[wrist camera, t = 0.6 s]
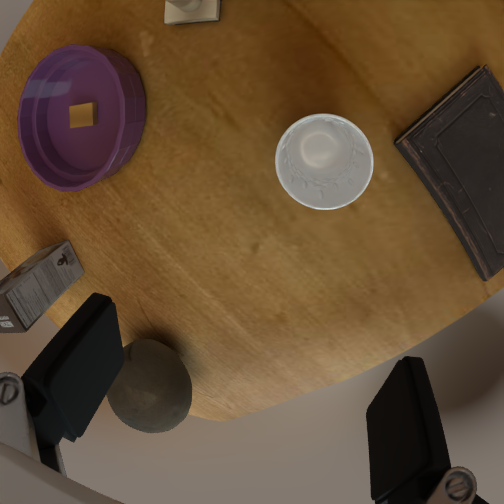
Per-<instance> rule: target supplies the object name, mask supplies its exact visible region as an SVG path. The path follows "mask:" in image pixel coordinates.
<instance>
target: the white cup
mask: <svg viewBox="0 0 504 504" xmlns="http://www.w3.org/2000/svg"><path fill="white" fill-rule="evenodd" d="M275 166H276V172H277V175H278V178H279V181H280V183H281V184H282V186H283V188H284V189H285V190H286V192H287V193H288V194H289V195H290V196H291V197H292V198H293V199H295V200H296V201H298V202H299V203H301V204H303V205H305V206H307V207H310V208H314V209H320V210H331V209H337V208H340V207H343V206H346V205H348V204H350V203H351V202H353V201H354V200H356V199H357V198H358V197H359V196H360V195H361V194H362V193H363V192H364V190H365V189H366V187H367V186H368V184H369V182H370V179H371V176H372V172H373V153H372V149H371V146H370V144H369V142H368V140H367V138H366V136H365V135H364V134H363V132H362V131H361V130H360V129H359V128H358V127H357V126H356V125H355V124H353V123H352V122H350V121H349V120H347V119H345V118H343V117H340V116H337V115H333V114H314V115H309V116H306V117H304V118H302V119H300V120H298V121H296V122H295V123H294V124H292V125H291V126H290V127H289V128H288V129H287V130H286V131H285V133H284V134H283V135H282V137H281V139H280V141H279V143H278V146H277V149H276V155H275Z"/></svg>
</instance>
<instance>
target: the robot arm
mask: <svg viewBox="0 0 504 504" xmlns="http://www.w3.org/2000/svg"><path fill="white" fill-rule="evenodd" d="M124 360H125V356H124V351H123V346H122V341H121V335H120V330H119V324H118V318H117V311H116V305H115V303H114V302H112V299H111V298H110V297H109V296H106V295H102V294H99V293H96V292H95V293H93V294H92V295H91V296H90V297H89V298H88V299H87V300H86V301H85V302H84V303H83V304H82V306H81V307H80V308H79V309H78V310H77V311H76V312H75V313H74V314H73V316H72V317H71V318H70V319H69V320H68V321H67V322H66V323H65V325H64V326H63V327H62V328H61V329H60V330H59V332H58V333H57V334H56V335H55V336H54V337H53V339H52V340H51V341H50V342H49V343H48V344H47V346H46V347H45V348H44V349H43V351H42V352H41V353H40V354H39V355H38V357H37V358H36V359H35V360H34V361H33V363H32V364H31V365H30V366H29V368H28V369H27V370H26V372H25V373H24V374H23V376H22V377H21V378H20V377H19V376H18V375H17V374H15V373H11V372H3V373H0V504H124V503H121V502H119V501H117V500H114V499H112V498H109V497H107V496H105V495H103V494H100V493H98V492H96V491H94V490H92V489H90V488H87V487H85V486H83V485H81V484H79V483H77V482H75V481H73V480H71V479H69V478H67V475H66V471H65V468H64V464H63V460H62V456H61V452H60V448H59V442H60V440H61V439H62V437H64V438H66V439H68V440H70V441H71V442H75V440H76V438H77V437H81V436H82V435H83V434H84V432H85V430H86V428H87V426H88V425H89V423H90V421H91V419H92V418H93V416H94V414H95V412H96V411H97V409H98V407H99V405H100V404H101V402H102V400H103V398H104V397H105V395H106V393H107V392H108V390H109V388H110V387H111V385H112V383H113V381H114V380H115V378H116V376H117V375H118V373H119V371H120V370H121V368H122V366H123V364H124ZM366 420H367V432H368V445H369V461H370V484H371V498H372V500H375V504H489V503H487V502H486V501H485V500H483V499H482V498H481V497H479V496H478V495H477V494H476V491H477V482H476V478H475V477H474V475H473V473H472V472H471V471H470V470H468V469H466V468H464V467H458V466H457V467H453V468H451V463H450V459H449V453H448V449H447V444H446V440H445V435H444V431H443V427H442V423H441V419H440V415H439V411H438V407H437V404H436V401H435V398H434V394H433V391H432V388H431V384H430V381H429V377H428V374H427V371H426V368H425V365H424V361H423V359H422V358H420V357H410V356H405V357H404V358H403V359H402V360H399V361H398V362H397V363H396V365H395V367H394V368H393V370H392V371H391V373H390V375H389V376H388V378H387V379H386V381H385V383H384V384H383V386H382V388H381V389H380V390H379V392H378V393H377V395H376V396H375V398H374V399H373V401H372V402H371V404H370V405H369V407H368V409H367V412H366Z"/></svg>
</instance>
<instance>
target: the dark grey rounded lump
mask: <svg viewBox="0 0 504 504" xmlns="http://www.w3.org/2000/svg"><path fill="white" fill-rule="evenodd" d="M123 351H124V356H125V360H124V364H123V366H122V368H121V370H120V371H119V373H118V375H117V376H116V378H115V380H114V381H113V383H112V385H111V387H110V388H109V390H108V392H107V393H106V395H107V398H108V401H109V403H110V406H111V407H112V409H113V411H114V413H115V414H116V415H117V416H118V417H119V419H120V420H121V421H122V422H124V423H125V424H127V425H128V426H130V427H132V428H134V429H136V430H139V431H142V432H147V433H159V432H165V431H169V430H171V429H173V428H174V427H176V426H177V425H178V424H179V423H180V422H182V421H183V420H184V419H185V417H186V416H187V414H188V412H189V409H190V406H191V402H192V384H191V379H190V376H189V374H188V371H187V369H186V367H185V365H184V364H183V362H182V361H181V359H180V358H179V356H178V355H177V354H176V353H175V352H174V351H173V350H172V349H170V348H169V347H168V346H166V345H164V344H162V343H160V342H158V341H155V340H152V339H139V340H135V341H133V342H131V343H129V344H128V345H126V346H125V347H123Z"/></svg>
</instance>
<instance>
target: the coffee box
mask: <svg viewBox="0 0 504 504" xmlns="http://www.w3.org/2000/svg"><path fill="white" fill-rule="evenodd" d="M83 274H84V270H83V268H82V266H81V264H80V262H79V260H78V258H77V256H76V254H75V252H74V250H73V248H72V246H71V244H70V242H69V240H66V241H63V242H60V243H58V244H55V245H52V246H49V247H47V248H44V249H41V250H39V251H38V252H36V253H35V254H34V255H32V256H31V257H30V258H28V259H27V260H26V261H24V262H23V263H22V264H21V265H19V266H18V267H17V268H16V269H14V270H13V271H12V272H11V273H10V274H8V275H7V276H6V277H5V278H3V279H2V280H1V281H0V333H19V332H20V333H21V332H27V331H28V330H29V328H30V327H31V326H32V325H33V324H34V323H35V322H36V321H37V320H38V319H39V318H40V317H41V316H42V315H43V314H44V313H45V312H46V310H47V309H48V308H49V307H50V306H51V305H52V304H53V303H54V302H55V301H56V300H57V299H58V298H59V297H60V296H61V295H62V294H63V293H64V292H65V291H66V290H67V289H68V288H69V287H70V286H71V285H72V284H73V283H75V281H76V280H78V279H79V278H80V277H81V276H82V275H83Z"/></svg>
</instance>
